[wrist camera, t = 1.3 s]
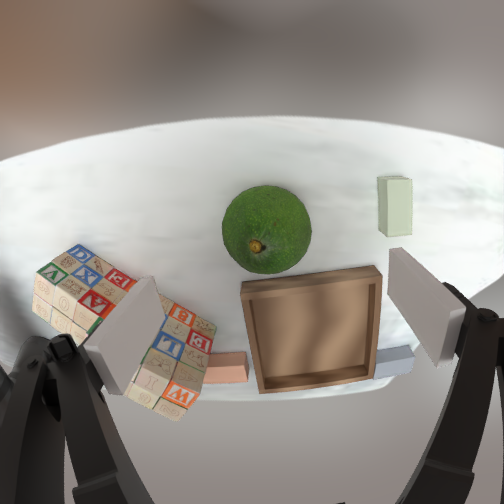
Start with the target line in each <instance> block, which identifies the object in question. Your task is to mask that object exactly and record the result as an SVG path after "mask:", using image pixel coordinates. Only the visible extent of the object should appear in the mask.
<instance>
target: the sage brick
mask: <svg viewBox="0 0 504 504" xmlns="http://www.w3.org/2000/svg"><path fill="white" fill-rule="evenodd" d="M377 179H378V211H379V231H380V232H382V233H383V234H384V235H385V236H387V237H395V236H406V235H412V179H409V178H405V177H401V176H399V177H377Z"/></svg>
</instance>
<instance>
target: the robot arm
mask: <svg viewBox="0 0 504 504" xmlns="http://www.w3.org/2000/svg"><path fill="white" fill-rule="evenodd" d="M387 294H388V295H389V297H390V298H391V300H392V301H393V303H394V304H395V305H396V307H397V308H398V310H399V311H400V313H401V314H402V316H403V317H404V318H405V320H406V321H407V323H408V324H409V326H410V327H411V329H412V330H413V332H414V333H415V335H416V336H417V338H418V340H419V341H420V343H421V344H422V346H423V347H424V349H425V350H426V352H427V354H428V355H429V357H430V358H431V360H432V362H433V363H434V365H435V366H436V368H439V367H442V366H446V365H449V364H451V363H452V360H453V357H454V353H456V354H457V356H458V357H459V360H458V363H457V366H456V369H455V372H454V375H453V380H452V383H451V386H450V389H449V392H448V395H447V398H446V400H445V403H444V406H443V409H442V411H441V414H440V417H439V419H438V421H437V424H436V426H435V429H434V431H433V433H432V436H431V438H430V440H429V442H428V445H427V447H426V449H425V451H424V453H423V455H422V457H421V459H420V461H419V463H418V465H417V467H416V469H415V471H414V473H413V474H412V476H411V478H410V480H409V482H408V483H407V485H406V487H405V489H404V490H403V492H402V494H401V495H400V497H399V499H398V500H397V502H396V503H395V504H464V503H465V501H466V499H467V496H468V494H469V491H470V489H471V486H472V483H473V480H474V473H473V472H472V467H473V465H474V462H475V458H476V455H477V452H478V449H479V446H480V442H481V439H482V435H483V431H484V427H485V423H486V419H487V415H488V409H489V405H490V400H491V395H492V389H493V383H494V376H495V369H497V376H498V381H499V389H500V397H501V407H502V420H503V446H504V318H499V316H498V315H497V314H496V313H495V312H494V311H492V310H490V309H486V308H479V309H477V308H476V307H475V306H474V305H473V304H472V303H471V302H470V301H469V300H468V299H467V298H466V297H464V295H463V294H462V293H460V292H459V291H458V290H457V289H456V288H455V287H454V286H452V285H450V284H448V283H446V282H444V283H441V282H440V281H439V280H438V279H437V278H435V277H434V276H433V275H432V274H431V273H430V272H429V271H428V270H427V269H426V268H424V267H423V266H422V265H421V264H420V263H419V262H418V261H417V260H416V259H414V258H413V257H412V256H411V255H410V254H409V253H407V252H406V251H405V250H404V249H403V248H402V247H401V248H393V249H389V274H388V292H387ZM164 320H165V314H164V311H163V308H162V305H161V302H160V298H159V295H158V292H157V288H156V285H155V281H154V278H153V276H150V277H141V278H140V280H139V281H138V282H137V283H136V284H135V285H134V286H133V287H132V289H131V290H130V291H129V292H128V293H127V294H126V295H125V296H124V298H123V299H122V300H121V301H120V302H119V303H118V304H117V306H116V307H115V308H114V309H113V310H112V311H111V313H110V314H109V315H108V316H107V317H106V318H105V319H104V320H103V321H101V322H100V323H99V324H97V325H96V326H95V327H94V329H93V330H92V332H90V333H89V335H88V337H86V338H85V339H84V341H83V342H82V343H81V344H80V345H79V347H78V348H77V346H76V344H75V342H74V340H73V338H72V336H71V334H68V333H66V334H60V335H58V336H56V337H54V338H52V339H51V340H50V341H49V340H47V339H45V338H42V337H38V336H34V337H31V338H29V339H28V340H27V341H26V342H25V343H24V344H23V345H22V347H21V349H20V352H19V354H18V357H17V359H16V362H15V364H14V367H13V370H12V371H11V373H10V374H9V375H7V374H6V372H5V371H4V369H3V368H2V367H1V365H0V504H64V449H65V436H66V441H67V446H68V450H69V454H70V458H71V462H72V465H73V469H74V472H75V476H76V479H77V483H78V487H75V488H73V490H72V493H73V498H74V501H75V504H154V502H153V501H152V498H151V497H150V495H149V493H148V492H147V490H146V488H145V486H144V484H143V483H142V481H141V479H140V477H139V475H138V473H137V471H136V469H135V467H134V465H133V463H132V462H131V460H130V457H129V455H128V453H127V451H126V449H125V447H124V444H123V442H122V440H121V438H120V436H119V433H118V431H117V429H116V426H115V424H114V422H113V419H112V417H111V414H110V411H109V409H108V406H107V403H106V401H105V398H104V395H103V394H102V392H101V388H102V387H103V385H104V386H105V387H106V389H107V391H108V393H109V394H114V395H124V393H125V391H126V389H127V387H128V385H129V383H130V382H131V380H132V378H133V376H134V374H135V372H136V370H137V368H138V367H139V365H140V363H141V361H142V359H143V357H144V356H145V354H146V352H147V350H148V348H149V346H150V345H151V343H152V341H153V339H154V337H155V336H156V334H157V332H158V330H159V328H160V327H161V325H162V323H163V321H164ZM503 449H504V448H503ZM503 454H504V453H503ZM503 459H504V455H503ZM503 462H504V460H503ZM338 504H345V502H344V503H338ZM500 504H504V463H503V481H502V493H501V503H500Z"/></svg>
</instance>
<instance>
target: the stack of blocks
mask: <svg viewBox="0 0 504 504" xmlns="http://www.w3.org/2000/svg"><path fill="white" fill-rule="evenodd" d="M136 283H137V281H135V280H133V279H131V278H129V277H128V276H126V275H125V274H123V273H121V272H120V271H118V270H117V269H114V267H113V266H111V265H110V264H108V263H107V262H105V261H104V260H102V259H101V258H99V257H97V256H95V255H94V254H93V253H91V252H90V251H88V250H87V249H85V248H84V247H82V246H81V245H79V244H78V245H76V246H74V247H73V248H71V249H69V250H68V251H66V252H64V253H63V254H61V255H59V256H58V257H56V258H55V259H53V260H52V261H51V262H50V263H48V264H47V265H45V266H44V267H42V268H41V269H40V270H38V271H37V272H36V277H35V284H34V295H33V305H32V311H33V312H34V313H35V314H37V315H38V316H39V317H41V318H42V319H43V320H45V321H46V322H47V323H49V324H50V325H51V326H52V327H53V328H55V329H56V330H57V331H59V332H60V333H62V334H66V333H68V334H71V336H72V338H73V340H74V342H75V343H76V344H77V345H80V344H81V343H82V342H83V341H84V339H85V338H86V337H88V335H89V333H90V332H92V330H93V329H94V327H95V326H96V325H97V324H99V323H100V322H101V321H103V320H104V319H105V318H106V317H107V316H108V315H109V314H110V313H111V311H112V310H113V309H114V308H115V307H116V306H117V304H118V303H119V302H120V301H121V300H122V299H123V298H124V296H125V295H126V294H127V293H128V292H129V291H130V290H131V289H132V287H133V286H134V285H135V284H136ZM158 295H159V298H160V302H161V305H162V308H163V311H164V314H165V320H164V321H163V323H162V325H161V327H160V328H159V330H158V332H157V334H156V336H155V337H154V339H153V341H152V343H151V345H150V346H149V348H148V350H147V352H146V354H145V356H144V357H143V359H142V361H141V363H140V365H139V367H138V368H137V370H136V372H135V374H134V376H133V378H132V380H131V382H130V383H129V385H128V387H127V389H126V391H125V393H124V396H127V397H128V398H129V399H131V400H133V401H135V402H137V403H139V404H141V405H143V406H145V407H147V408H149V409H152V410H153V411H154V412H156V413H158V414H160V415H163V416H165V417H167V418H169V419H171V420H173V421H176V422H178V421H179V420H180V418H181V417H182V416H183V415H184V414H185V413H186V412H187V410H188V408H189V407H190V406H191V405H192V404H193V403H194V401H195V400H196V399H197V397H198V396H199V395H200V392H201V388H202V384H203V379H204V375H205V374H206V368H207V365H208V361H209V356H210V351H211V347H212V342H213V339H214V335H215V331H216V326H215V325H213V324H211V323H209V322H207V321H205V320H204V319H202V318H200V317H198V316H196V315H195V314H194V313H192V312H190V311H188V310H187V309H185V308H183V307H181V306H179V305H178V304H176V303H174V302H172V301H171V300H169V299H167V298H166V297H164V296H162V295H160V294H159V293H158Z"/></svg>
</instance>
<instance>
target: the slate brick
mask: <svg viewBox="0 0 504 504" xmlns="http://www.w3.org/2000/svg"><path fill="white" fill-rule="evenodd" d="M414 360H415V355H414V353H413V352H412V350H411V349H410V347H409V345H405V346H400V347H394V348H389V349H383V350H377V353H376V361H375V368H374V375H373V380H374V379H380V378H385V377H391V376H396V375H400V374H405V373H410V372H411V370H412V366H413V363H414Z"/></svg>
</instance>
